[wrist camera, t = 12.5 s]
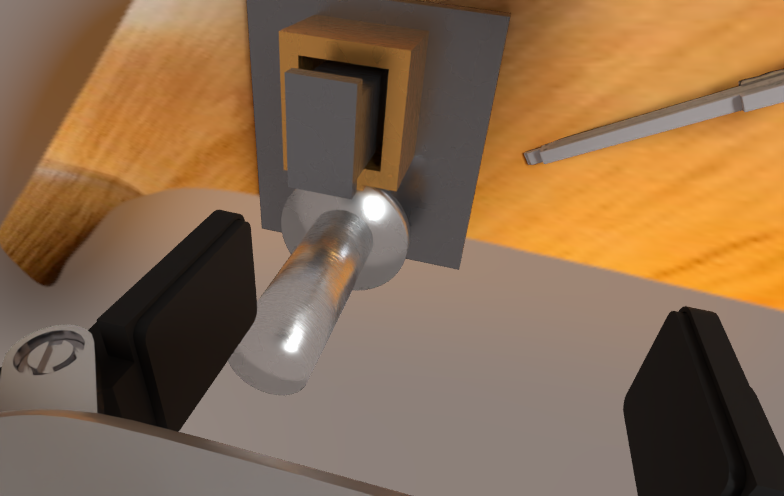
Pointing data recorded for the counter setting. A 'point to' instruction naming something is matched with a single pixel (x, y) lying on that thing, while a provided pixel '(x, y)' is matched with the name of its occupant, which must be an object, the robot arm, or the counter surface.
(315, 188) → the tall grey pillar block
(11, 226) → the counter surface
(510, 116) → the counter surface
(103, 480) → the robot arm
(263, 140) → the post
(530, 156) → the caliper
